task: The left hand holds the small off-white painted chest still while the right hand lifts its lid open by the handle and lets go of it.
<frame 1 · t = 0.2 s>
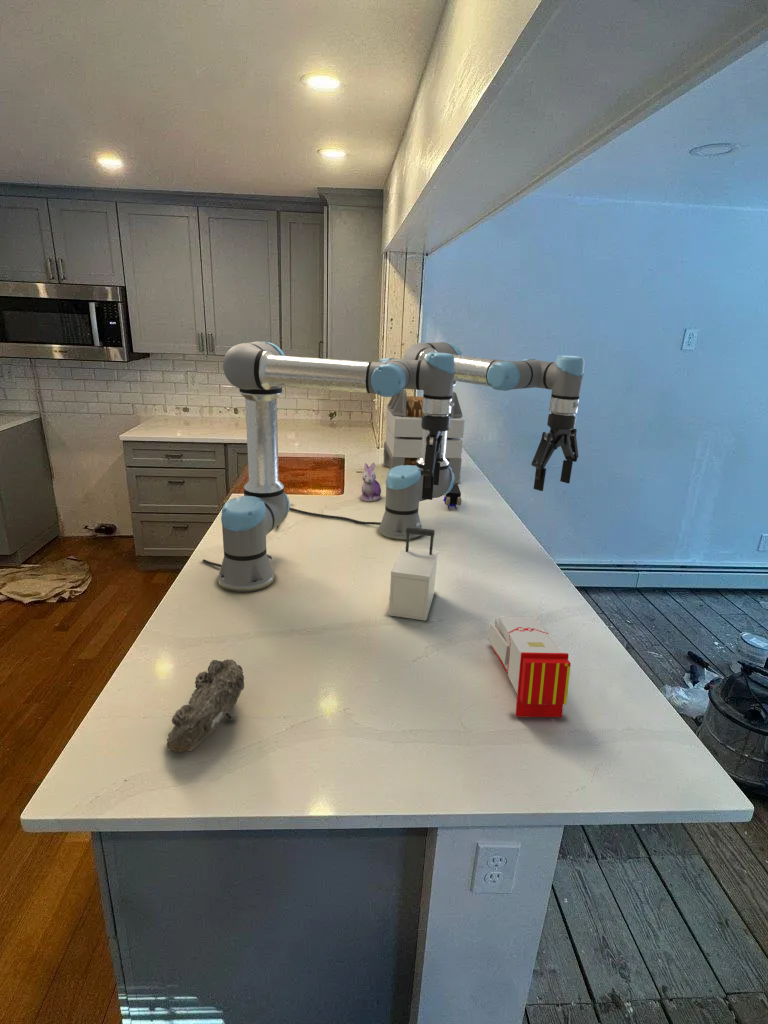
left hand: (430, 491, 155), 28 cm above the counter, tool pointing down, fingers open, 13 cm apart
right hand: (551, 486, 165), 28 cm above the counter, tool pointing down, fingers open, 13 cm apart
chest: (412, 603, 153), on the counter
fossil: (212, 717, 108), on the counter
feather: (283, 517, 211), on the counter
lid: (416, 550, 148), point 15 cm above the counter, hinge at 0.0°
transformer: (419, 473, 275), on the counter
toy: (520, 675, 125), on the counter
figurine: (370, 498, 235), on the counter
figurine character: (451, 505, 231), on the counter
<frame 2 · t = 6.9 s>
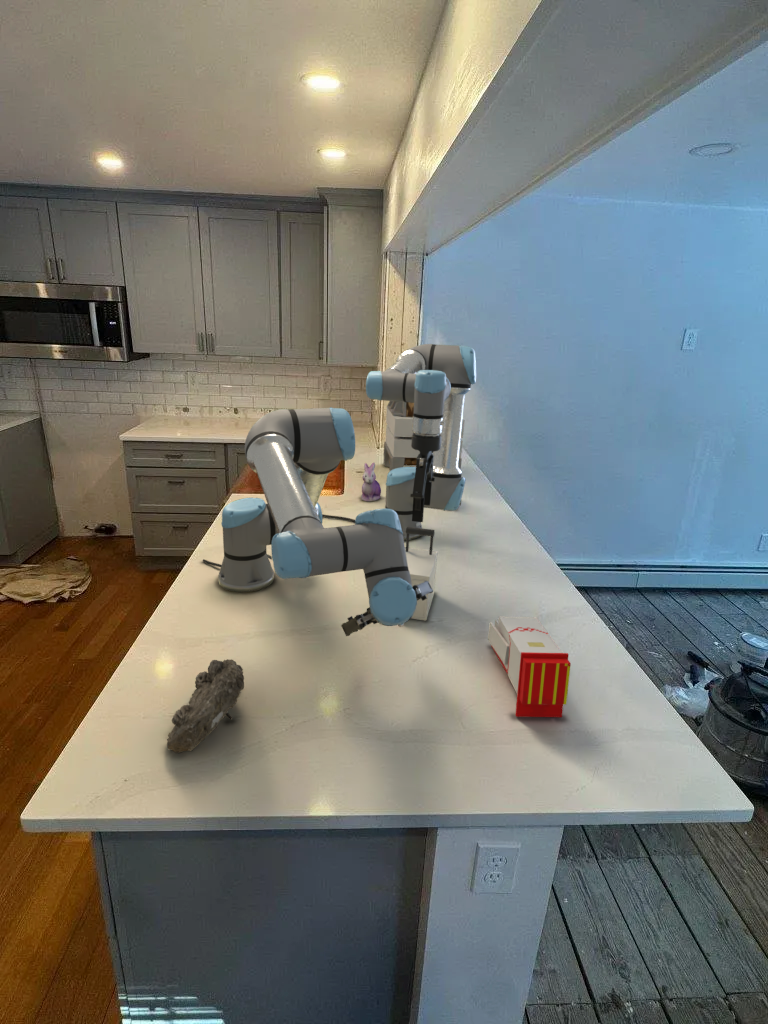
left hand: (386, 609, 125), 12 cm above the counter, tool tilted 60°, fingers open, 13 cm apart
right hand: (421, 512, 150), 24 cm above the counter, tool pointing down, fingers open, 13 cm apart
nothing on the counter moved.
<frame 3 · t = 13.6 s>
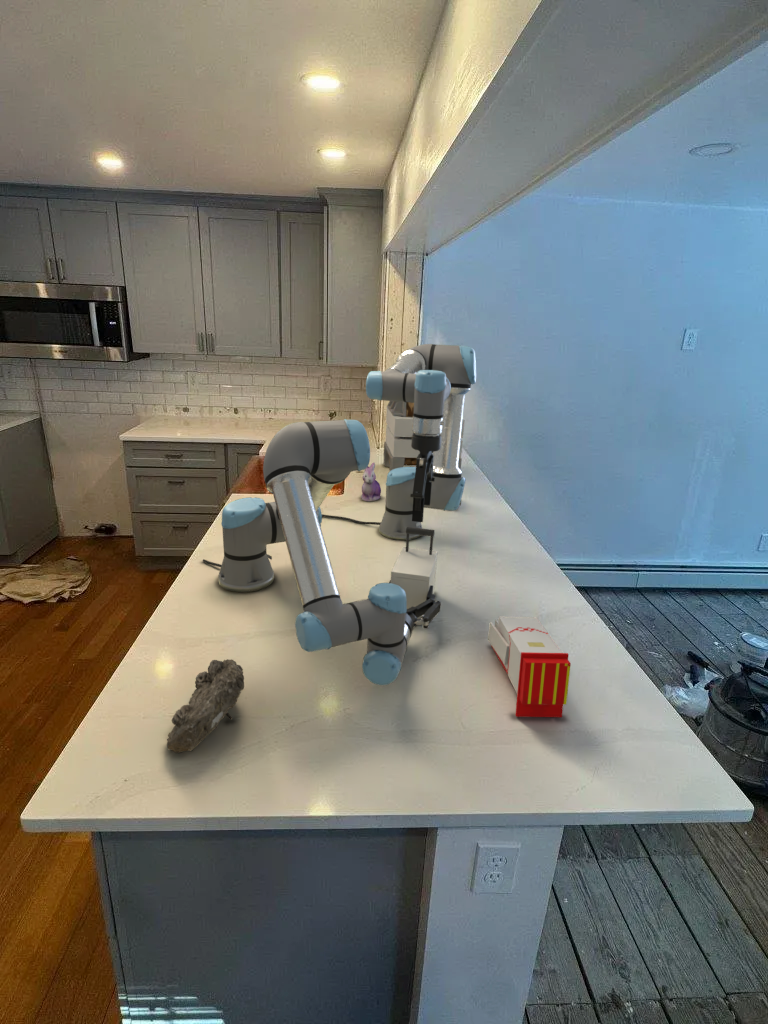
left hand: (411, 587, 147), 7 cm above the counter, tool horizontal, fingers closed on chest, 10 cm apart
right hand: (421, 512, 150), 24 cm above the counter, tool pointing down, fingers open, 13 cm apart
chest: (412, 603, 153), on the counter, touching left hand
everything else where it was.
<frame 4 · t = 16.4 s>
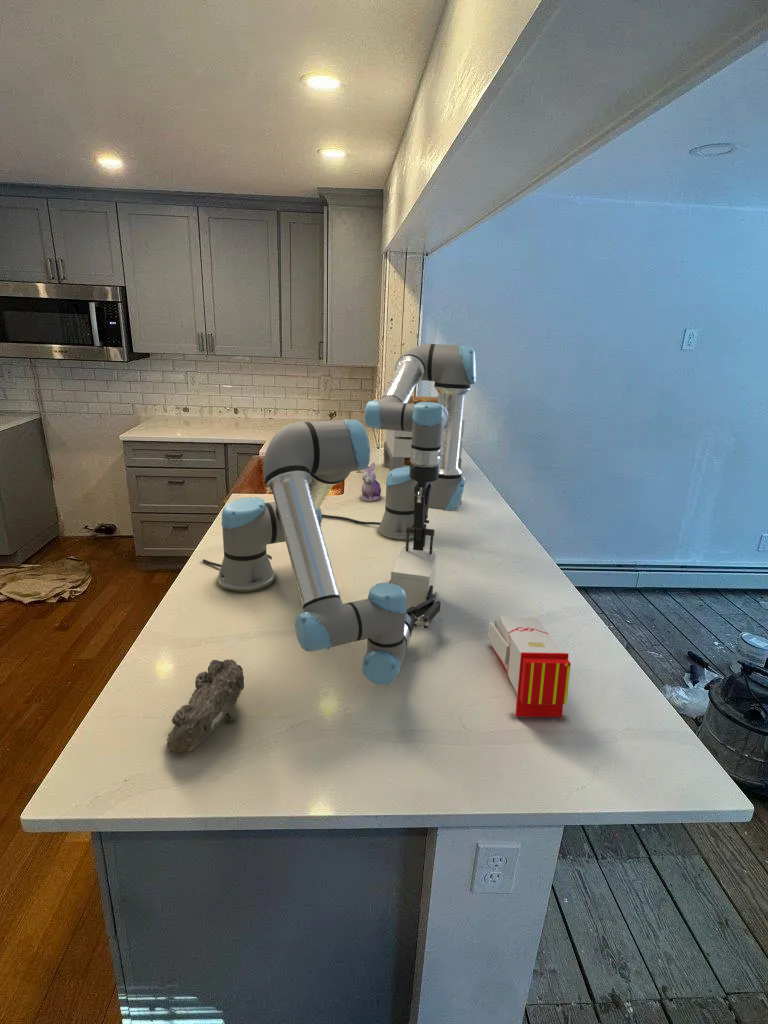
left hand: (411, 587, 147), 7 cm above the counter, tool horizontal, fingers closed on chest, 10 cm apart
right hand: (418, 547, 154), 14 cm above the counter, tool pointing down, fingers closed on lid, 2 cm apart
chest: (412, 603, 153), on the counter, touching left hand
lid: (416, 550, 148), point 16 cm above the counter, hinge at 0.5°, touching right hand
everything else where it was.
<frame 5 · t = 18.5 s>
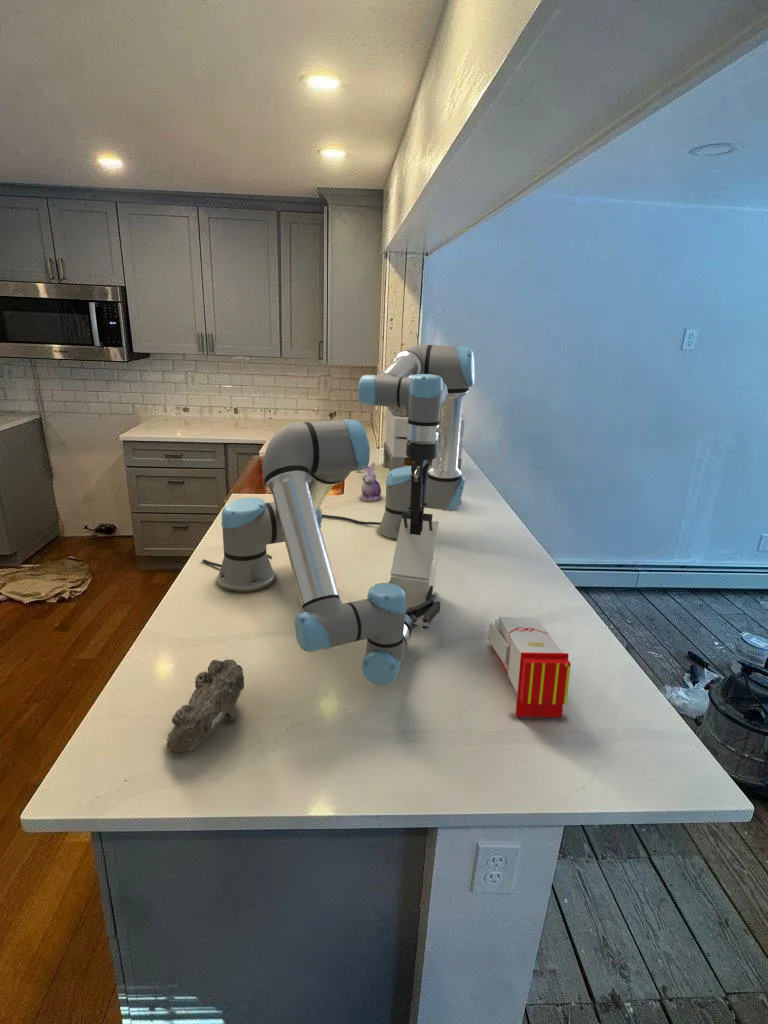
left hand: (411, 588, 146), 7 cm above the counter, tool horizontal, fingers closed on chest, 10 cm apart
right hand: (416, 532, 144), 22 cm above the counter, tool pointing down, fingers closed on lid, 2 cm apart
chest: (412, 604, 153), on the counter, touching left hand
lid: (414, 541, 142), point 20 cm above the counter, hinge at 39.7°, touching right hand
everything else where it was.
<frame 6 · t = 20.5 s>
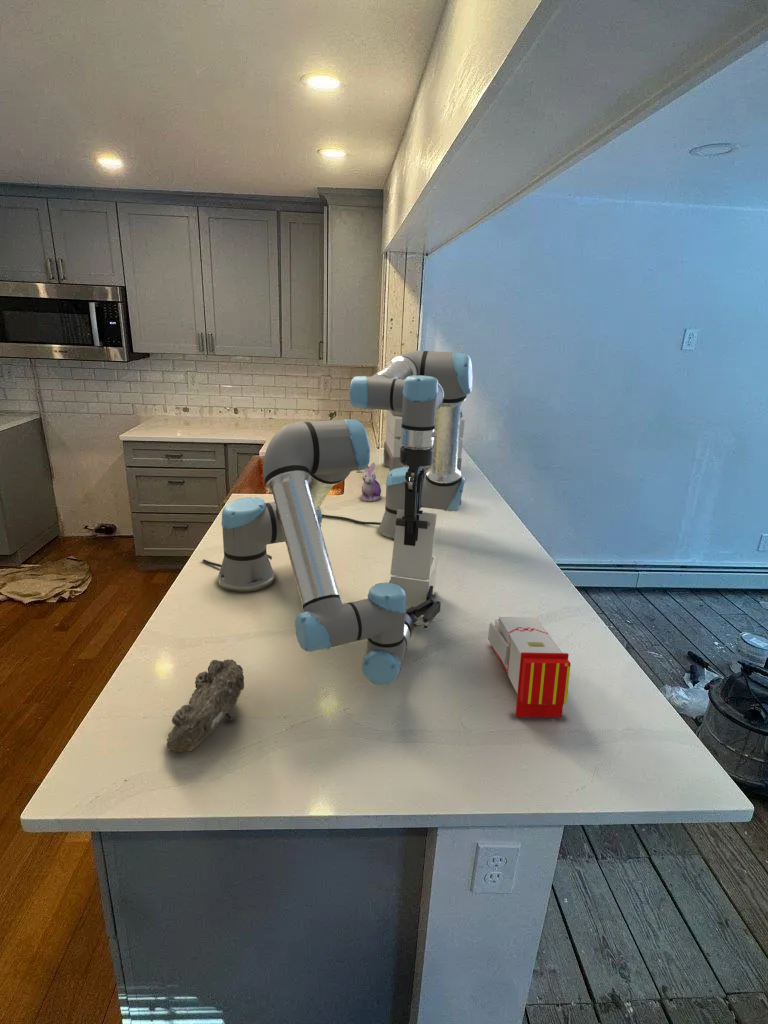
left hand: (411, 587, 146), 7 cm above the counter, tool horizontal, fingers closed on chest, 10 cm apart
right hand: (410, 542, 136), 22 cm above the counter, tool pointing down, fingers open, 2 cm apart
chest: (412, 603, 153), on the counter, touching left hand
lid: (411, 545, 138), point 21 cm above the counter, hinge at 71.4°
everything else where it was.
when the left hand's fingers open (7 cm above the counter, at t = 24.4 s): chest stays where it is, on the counter.
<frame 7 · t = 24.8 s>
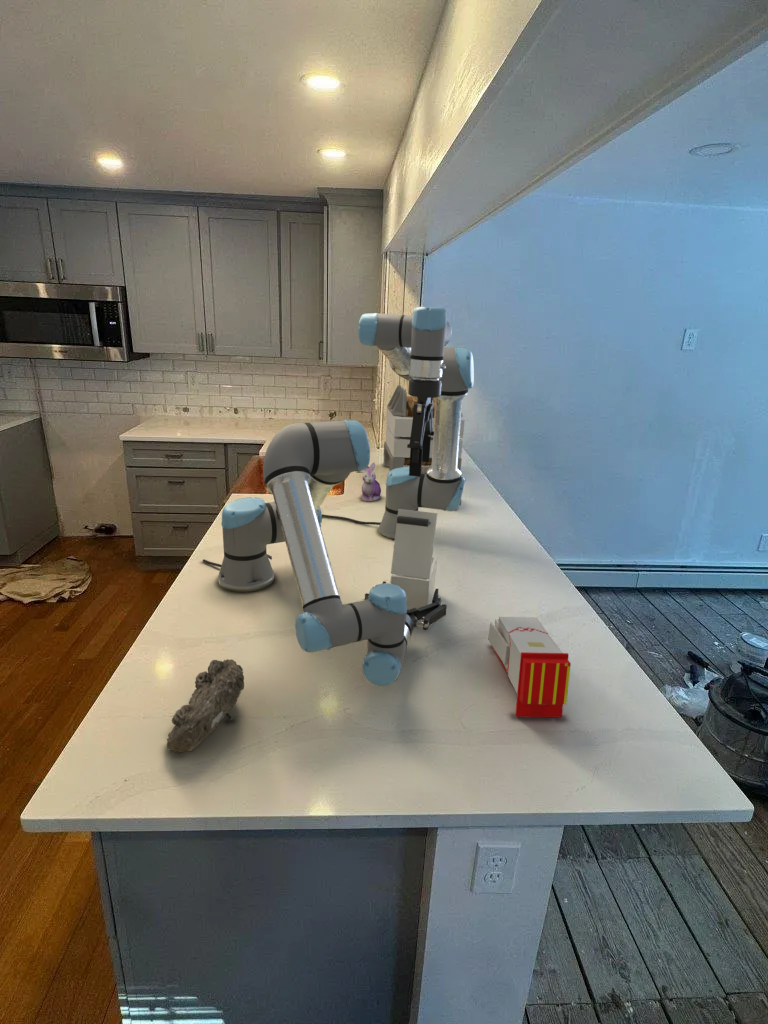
left hand: (410, 589, 145), 7 cm above the counter, tool horizontal, fingers open, 13 cm apart
right hand: (419, 468, 137), 39 cm above the counter, tool pointing down, fingers open, 13 cm apart
chest: (412, 603, 153), on the counter
lid: (412, 543, 139), point 21 cm above the counter, hinge at 68.8°
everything else where it was.
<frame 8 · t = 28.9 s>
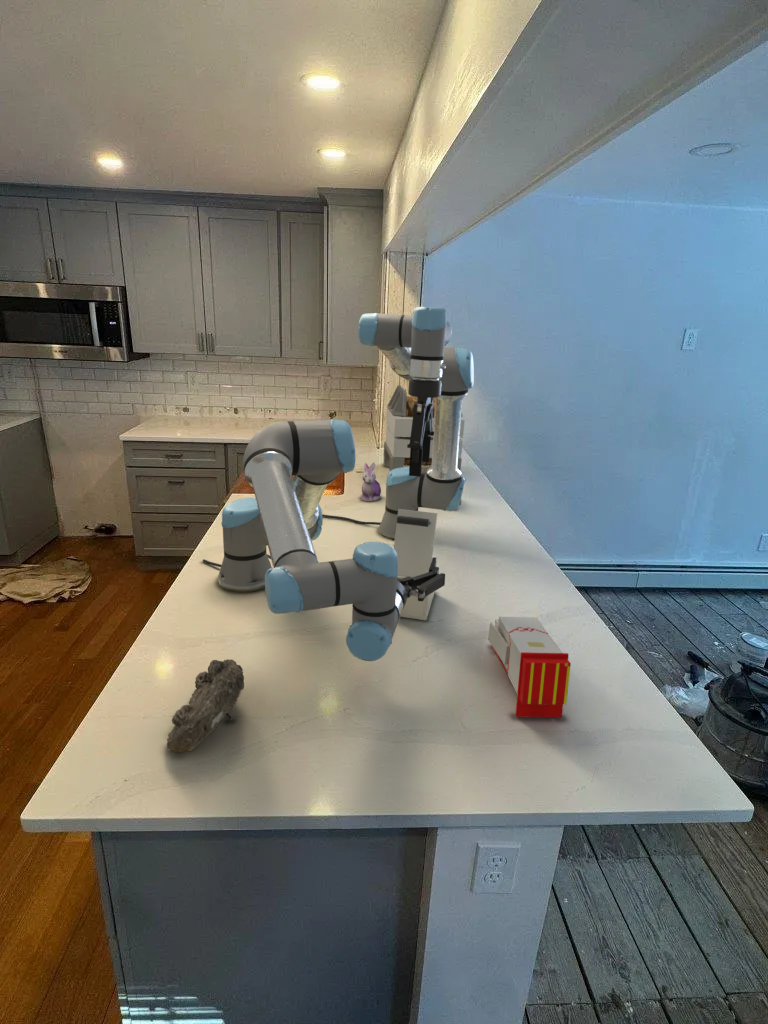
left hand: (404, 559, 129), 21 cm above the counter, tool horizontal, fingers open, 13 cm apart
right hand: (419, 468, 137), 39 cm above the counter, tool pointing down, fingers open, 13 cm apart
nothing on the counter moved.
at the end: lid at +69° (first picture: +0°); the left hand is holding nothing; the right hand is holding nothing; chest tilted 0°; chest never tilted more than 1° during the clip; chest moved 0.1 cm from its start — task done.
